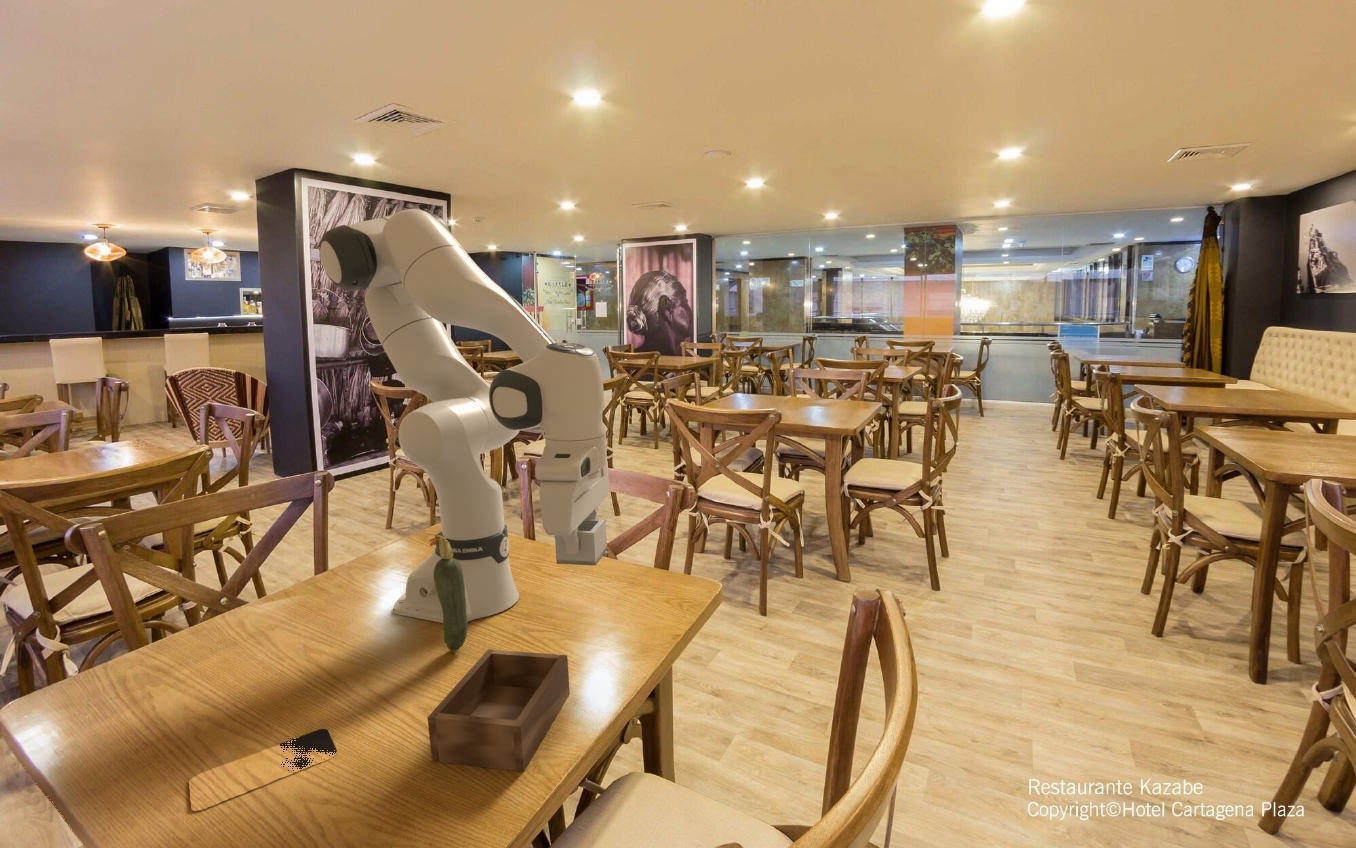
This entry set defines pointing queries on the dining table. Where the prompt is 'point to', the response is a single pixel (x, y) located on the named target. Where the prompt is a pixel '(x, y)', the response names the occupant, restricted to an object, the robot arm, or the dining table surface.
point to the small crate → (585, 544)
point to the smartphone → (311, 745)
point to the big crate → (500, 710)
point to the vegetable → (451, 595)
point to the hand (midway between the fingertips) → (581, 543)
